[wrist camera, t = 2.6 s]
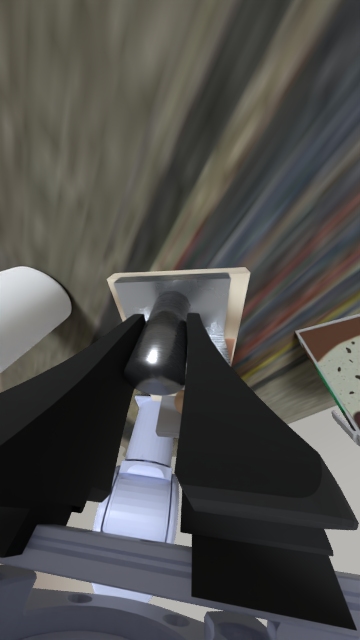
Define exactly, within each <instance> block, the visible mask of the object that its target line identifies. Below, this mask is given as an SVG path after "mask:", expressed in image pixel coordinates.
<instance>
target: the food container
mask: <svg viewBox="0 0 360 640" xmlns="http://www.w3.org/2000/svg"><path fill="white" fill-rule="evenodd" d="M295 334H296V337H297V339H298V341H299V342H300V344H301V346H302V347H303V349H304V351H305V352H306V354H307V356H308V357H309V359H310V361H311V362H312V364H313V366H314V367H315V369H316V370H317V372H318V374H319V375H320V377H321V379H322V380H323V382H324V384H325V385H326V387H327V389H328V390H329V392H330V393H331V395H332V397H333V398H334V400H335V402H336V403H337V405H338V406H339V408H340V410H341V412H342V413H343V415H344V416H345V418H346V420H347V421H348V423H349V425H350V426H351V428H350V426H349V425H347V423H346V422H345V421H344V420H343V419H342V418H341V417H340V416H339V415H338V414H337V413H336V412H335V411H334V410H333V411H332V416H333V418H334V419H335V421H336V422H337V423H338V424H339V425H340V426H341V428H342V429H343V430H344V431H345V432H346V433H347V434H348V435H349V436H350V437H351V439H352V440H353V441H354V442H355V443H356V444H357V445H359V446H360V314H356V315H353V316H349V317H345V318H342V319H338V320H334V321H331V322H327V323H323V324H319V325H316V326H312V327H308V328H305V329H301V330H297V331H295Z"/></svg>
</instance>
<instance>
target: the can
mask: <svg viewBox="0 0 360 640" xmlns="http://www.w3.org/2000/svg"><path fill="white" fill-rule="evenodd" d="M71 310H72V307H71V301H70V298H69V296H68V294H67V292H66V291H65V289H64V288H63V287H62V286H61V285H60V284H59V283H58V282H57V281H56V280H54V279H53V278H52V277H50V276H49V275H47V274H45V273H43V272H41V271H38V270H35V269H32V268H29V267H23V266H21V267H15V268H12V269H8V270H5V271H1V272H0V373H1V372H2V371H4V370H5V369H6V368H7V367H9V366H10V365H11V364H12V363H13V362H15V361H16V360H17V359H18V358H20V357H21V356H22V355H23V354H24V353H26V352H27V351H28V350H29V349H30V348H32V347H33V346H34V345H35V344H37V343H38V342H39V341H40V340H41V339H43V338H44V337H45V336H46V335H47V334H49V333H50V332H51V331H52V330H53V329H55V328H56V327H57V326H58V325H59V324H61V323H62V322H63V321H64V320H65V319H66V318H68V317H69V315H70V314H71Z"/></svg>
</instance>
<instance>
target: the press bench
mask: <svg viewBox="0 0 360 640" xmlns="http://www.w3.org/2000/svg"><path fill="white" fill-rule="evenodd" d="M223 272H228V274H229V276H230V277H231V283H230V290H229V298H228V305H227V313H226V320H225V328H224V337H225V342H226V346H227V350H228V355H229V359H230V363H231V364H232V359H233V354H234V349H235V345H236V340H237V335H238V330H239V325H240V320H241V316H242V311H243V306H244V301H245V296H246V291H247V287H248V282H249V277H250V272H249V271H248V270H247V269H246V268H245V267H241V268H220V269H199V270H178V271H157V272H136V273H115V274H113V275H112V276H111V277H109V278H108V279H107V281H108V283H109V286H110V289H111V291H112V294H113V297H114V299H115V302H116V305H117V307H118V310H119V313H120V315H121V318H122V321H125V320H126V317H125V315H124V312H123V309H122V306H121V303H120V301H119V298H118V295H117V292H116V289H115V287H114V284H113V283H114V282H115V281H116V280H117V279H119V278H120V277H133V276H155V275H178V274H200V273H223ZM231 364H230V366H231ZM185 378H186V377H185ZM184 388H185V386H184V387H183V389H182V390H181V391H179V392H177V393H175V394H172V395H164V396H159V395H151V394H150V395H151V398H152V400H153V401H161V404H160V409H159V415H158V420H157V425H156V431H155V432H156V434H157V436H158V437H170V438H179V432H180V424H181V416H182V407H183V398H184Z"/></svg>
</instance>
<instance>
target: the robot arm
mask: <svg viewBox="0 0 360 640" xmlns="http://www.w3.org/2000/svg"><path fill="white" fill-rule="evenodd" d="M186 322H187V338H188V356H187V368H186V378H185V388H184V398H183V407H182V416H181V424H180V432H179V440H178V449H177V457H176V465H175V472H174V473H175V474H172V468H171V458H172V450H173V440H174V438H170V437H158V436H157V434H156V432H155V431H156V425H157V420H158V415H159V409H160V404H161V401H153V400H152V398H151V396H135V400H136V402H137V404H138V406H139V408H140V409H139V412H138V416H137V419H136V423H135V426H134V430H133V433H132V437H131V440H130V444H129V447H128V451H127V454H126V458H125V460H123V461H122V464H121V466H117V467H116V462H117V457H118V453H119V448H120V443H121V439H122V434H123V430H124V425H125V421H126V417H127V413H128V409H129V405H130V402H131V398H132V394H133V391H134V387H132V386H131V385H130V384H129V383H128V382H127V381H126V379H125V377H124V370H125V368H126V365H127V363H128V361H129V359H130V357H131V354H132V352H133V350H134V348H135V346H136V343H137V341H138V339H139V337H140V334H141V332H142V330H143V328H144V326H145V323H146V320H145V316H144V314H133V315H132V316H130V317H129V318H127V319H126V320H125V321H123V322H122V323H121V324H120V325H118V326H117V327H116V328H114V329H113V330H112V331H110V332H109V333H108V334H106V335H105V336H103V337H102V338H100V339H99V340H98V341H96V342H95V343H93V344H92V345H90V346H89V347H87V348H86V349H84V350H83V351H81V352H79V353H78V354H76V355H74V356H73V357H71V358H69V359H68V360H66V361H64V362H62V363H60V364H59V365H57V366H55V367H53V368H51V369H49V370H47V371H45V372H43V373H41V374H39V375H38V376H36V377H34V378H32V379H29V380H27V381H25V382H23V383H21V384H19V385H17V386H15V387H12V388H10V389H8V390H6V391H4V392H1V393H0V563H1V564H5V565H0V640H360V575H356V574H350V573H344V572H338V571H334V569H333V566H332V564H331V561H330V558H329V556H333V550H332V548H331V545H330V543H329V540H328V538H327V535H326V533H325V530H324V529H338V530H339V529H340V530H357V528H358V524H359V523H358V521H357V519H356V517H355V515H354V513H353V511H352V509H351V507H350V506H349V504H348V502H347V500H346V498H345V496H344V495H343V492H342V490H341V489H340V487H339V485H338V484H337V482H336V480H335V478H334V477H333V475H332V474H331V472H330V470H329V469H328V467H327V466H326V464H325V463H324V461H323V459H322V458H321V456H320V454H319V453H318V452H317V451H316V450H315V449H313V448H312V447H311V446H310V445H309V444H308V443H307V442H306V441H304V440H303V439H302V438H301V437H300V436H299V435H298V434H297V433H296V432H294V431H293V430H292V429H291V428H290V427H289V426H288V425H287V424H286V423H285V422H284V421H283V420H281V419H280V418H279V417H278V416H277V415H276V414H275V413H274V412H273V411H272V410H271V409H270V408H269V407H268V406H267V405H266V404H265V403H264V402H263V401H262V400H261V399H260V398H259V397H258V396H257V395H256V394H255V393H254V392H253V391H252V390H251V389H250V388H249V387H248V385H247V384H246V383H245V382H244V381H243V380H242V379H241V378H240V377H239V376H238V375H237V373H236V372H235V371H234V370H233V369H232V368H231V366H230V365H229V364H228V363H227V361H226V360H225V359H224V357H223V356H222V355H221V353H220V352H219V350H218V349H217V348H216V346H215V344H214V343H213V341H212V340H211V338H210V336H209V335H208V333H207V331H206V329H205V327H204V325H203V323H202V320H201V317H200V314H199V313H187V319H186ZM176 477H177V478H176ZM177 479H178V480H177ZM178 481H179V483H180V486H181V488H182V507H181V532H182V533H188V534H192V547H189V546H182V545H177V544H174V540H175V535H176V529H177V520H178V506H179V505H178V504H179V483H178ZM86 501H93V502H99V506H98V509H97V513H96V517H95V521H94V527H93V530H87V529H80V528H74V527H68V526H66V525H67V522H68V520H69V517H70V515H71V512H77V513H82V511H83V509H84V507H85V504H86ZM328 555H329V556H328ZM34 571H38V572H43V573H48V574H53V575H57V576H62V577H67V578H71V579H76V580H81V581H86V582H90V583H91V584H92V587H93V590H94V593H95V594H90V593H79V592H68V591H58V590H46V589H36V588H32V587H33V585H34V583H35V580H36V578H37V577H36V573H35V572H34ZM153 596H157V597H162V598H166V599H171V600H177V601H180V602H185V603H190V604H195V605H199V606H204V607H209V608H214V609H218V610H223V611H214V612H213V611H211V612H207V613H206V615H205V617H204V623H203V622H201V621H198V620H195V619H192V618H190V617H187V616H184V615H181V614H179V613H176V612H173V611H171V610H168V609H165V608H162V607H159V606H155V605H152V604H148V602H149V601H150V599H151V598H152V597H153ZM255 617H256V618H261V619H266V620H268V622H267V628H266V627H265V626H264V625H263V624H262V623H261V622H260V621H259V620H258V619H256V618H255Z"/></svg>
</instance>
